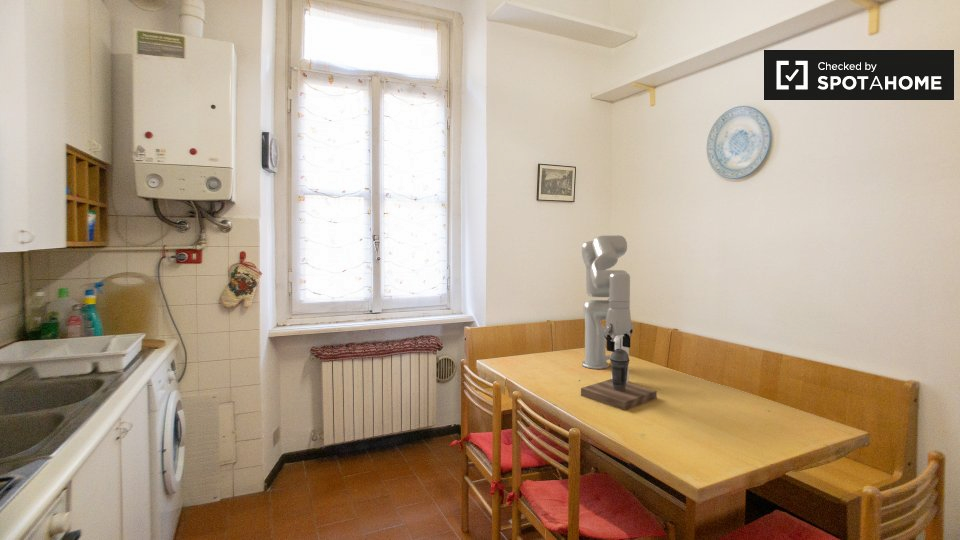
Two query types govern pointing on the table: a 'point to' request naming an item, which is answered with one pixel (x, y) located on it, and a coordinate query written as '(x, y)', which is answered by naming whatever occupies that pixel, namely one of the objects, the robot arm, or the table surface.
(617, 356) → the beverage cup
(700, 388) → the table surface
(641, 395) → the walnut base board
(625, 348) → the water bottle
